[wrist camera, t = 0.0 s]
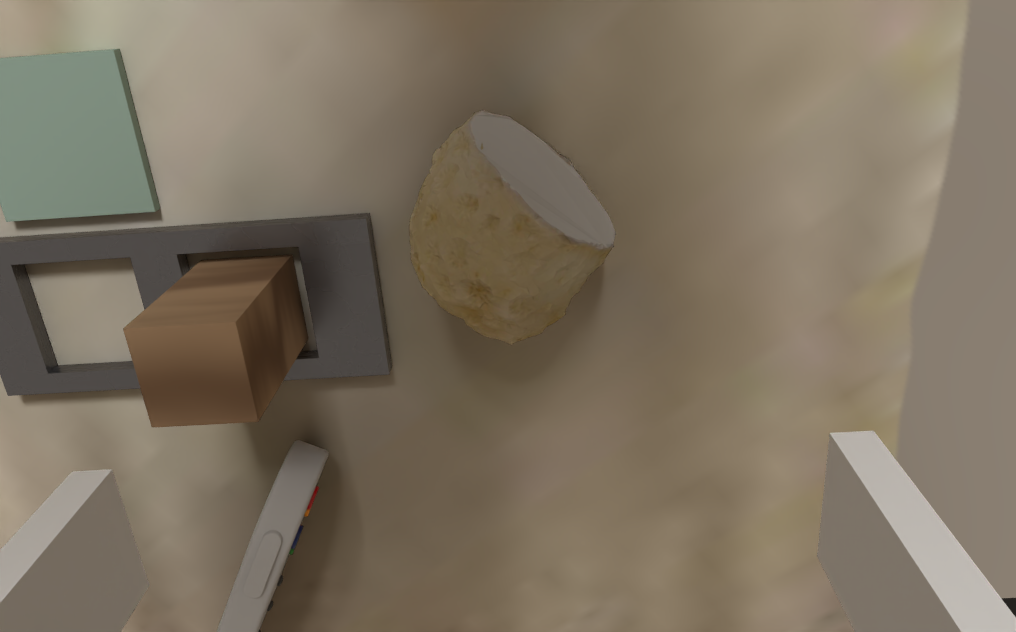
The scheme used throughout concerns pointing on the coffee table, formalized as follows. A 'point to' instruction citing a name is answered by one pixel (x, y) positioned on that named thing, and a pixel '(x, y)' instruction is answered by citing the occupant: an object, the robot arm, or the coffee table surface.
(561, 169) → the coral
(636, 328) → the coffee table surface
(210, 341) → the walnut block
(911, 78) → the coffee table surface
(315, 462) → the game controller
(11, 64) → the felt pad
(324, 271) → the grey slotted board
